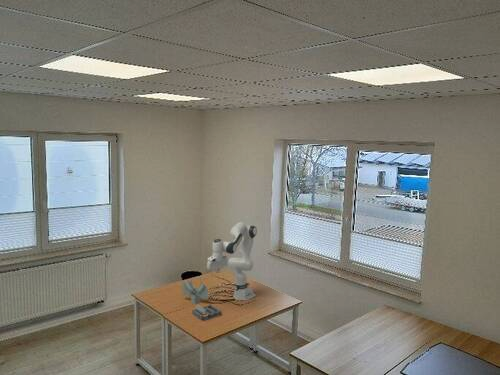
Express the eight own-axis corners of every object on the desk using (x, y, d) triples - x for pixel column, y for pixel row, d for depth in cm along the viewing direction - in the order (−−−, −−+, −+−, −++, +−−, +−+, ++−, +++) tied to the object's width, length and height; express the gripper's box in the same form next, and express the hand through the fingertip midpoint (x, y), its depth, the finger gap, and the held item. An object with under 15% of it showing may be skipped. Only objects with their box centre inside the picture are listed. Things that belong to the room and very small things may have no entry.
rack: (210, 308, 350) (210, 304, 349) (221, 314, 337) (221, 310, 336) (192, 314, 338) (192, 309, 338) (202, 321, 325) (202, 316, 324)
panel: (198, 312, 339) (198, 304, 338) (206, 317, 330) (205, 309, 329) (196, 313, 337) (196, 305, 337) (203, 318, 328) (203, 310, 327)
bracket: (209, 303, 361) (209, 282, 359) (206, 306, 355) (205, 285, 352) (184, 298, 372) (184, 278, 369) (180, 301, 365) (180, 280, 363)
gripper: (224, 254, 351) (225, 269, 353) (205, 258, 338) (206, 274, 340) (229, 256, 346) (229, 271, 348) (209, 260, 334) (209, 276, 335)
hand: (217, 272), depth 344 cm, fingers closed
